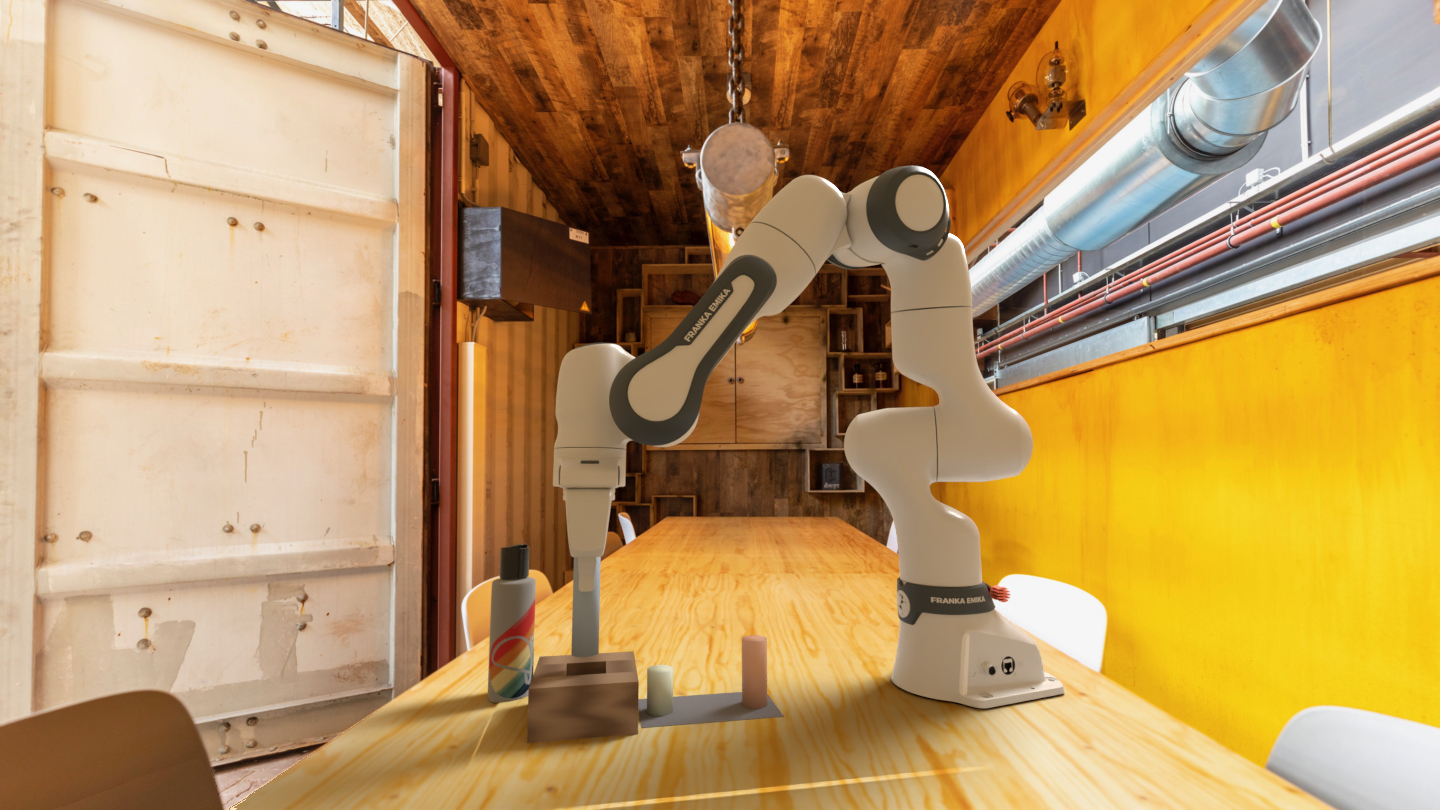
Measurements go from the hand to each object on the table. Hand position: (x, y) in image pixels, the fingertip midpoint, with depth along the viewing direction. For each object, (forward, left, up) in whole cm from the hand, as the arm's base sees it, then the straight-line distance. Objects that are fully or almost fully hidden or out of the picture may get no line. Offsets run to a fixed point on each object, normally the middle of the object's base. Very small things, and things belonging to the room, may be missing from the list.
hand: (586, 587), depth 74 cm
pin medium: (-21, -1, -15) cm, 26 cm away
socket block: (0, -1, -16) cm, 16 cm away
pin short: (-9, -1, -15) cm, 18 cm away
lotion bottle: (+10, -11, -16) cm, 22 cm away
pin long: (0, 0, -8) cm, 8 cm away
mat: (-15, -1, -16) cm, 22 cm away
